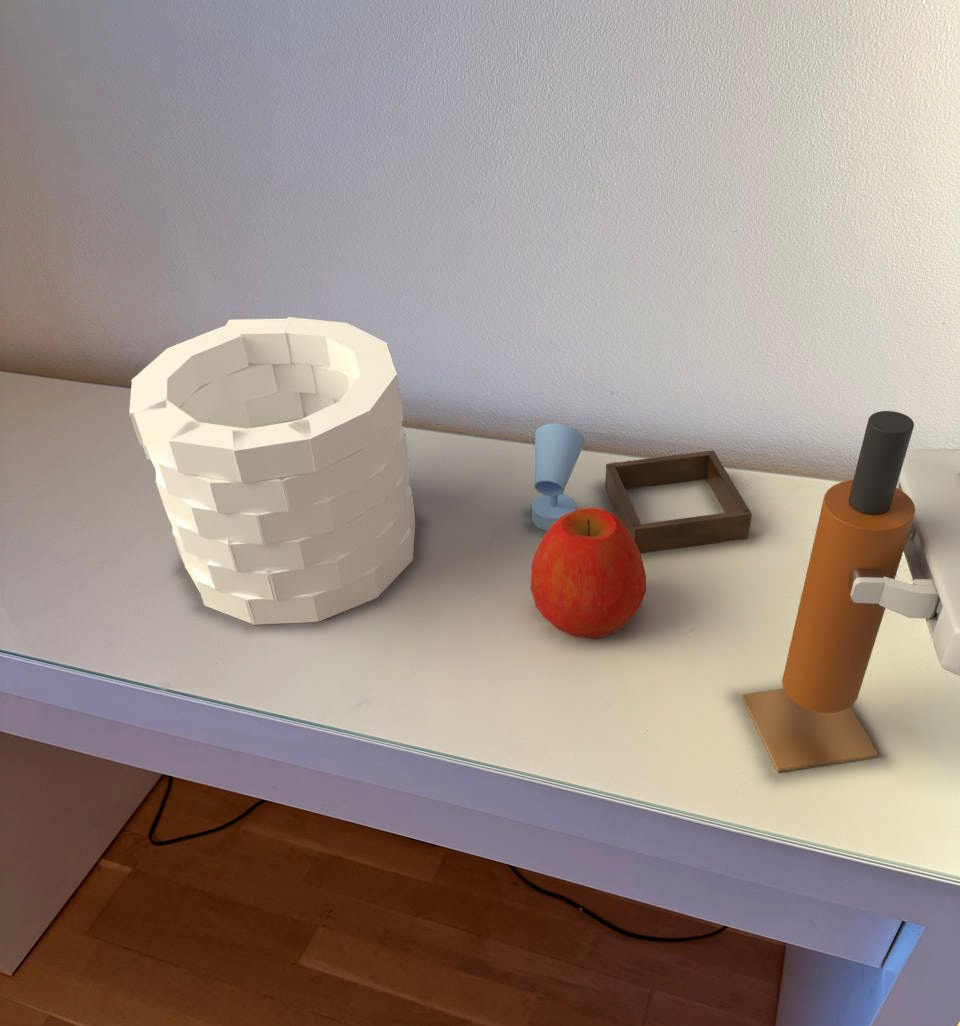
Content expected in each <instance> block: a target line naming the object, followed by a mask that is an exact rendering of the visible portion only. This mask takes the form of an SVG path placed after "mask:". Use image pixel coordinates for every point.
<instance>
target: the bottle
mask: <svg viewBox="0 0 960 1026" xmlns="http://www.w3.org/2000/svg"><path fill="white" fill-rule="evenodd" d="M914 427H915V422H914V420H913V419H912V418H911V417H910V416H909V415H906V414H904V413H902V412H899V411H893V410H882V411H881V410H880V411H876V412H874V413H872V414H870V416H869V417H868V420H867V423H866V428H865V431H864V435H863V439H862V444H861V446H860V451H859V455H858V459H857V463H856V466H855V467H856V468H855V471H854V475H853V479H847V480H844V481H840V482H838V483H836V484H834V485H832V486H831V487H830V488H828V489H827V490H826V492H825V493H824V496H823V499H822V504H821V508H820V513H819V517H818V522H817V526H816V530H815V535H814V538H813V542H812V543H813V544H812V548H811V552H810V556H809V561H808V565H807V570H806V573H805V579H804V581H803V587H802V591H801V595H800V600H799V605H798V609H797V613H796V618H795V621H794V626H793V631H792V635H791V640H790V643H789V648H788V652H787V657H786V661H785V666H784V670H783V675H782V680H781V682H782V689H783V688H784V690H785V692H786V694H787V695H788V696H789V698H790V699H791V700H792V701H794V702H795V703H796V704H798V705H799V706H801V707H803V708H805V709H808V710H811V711H814V712H820V713H836V712H840V711H843V710H845V709H848V708H849V707H851V708H852V706H853V705H854V704H855V703H856V701H857V700H858V697H859V695H860V691H861V688H862V686H863V683H864V682H863V681H864V679H865V675H866V673H867V669H868V666H869V664H870V663H869V662H870V659H871V656H872V653H873V650H874V646H875V643H876V641H877V637H878V634H879V631H880V628H881V624H882V621H883V617H884V615H885V611H886V608H885V607H883V606H880V605H879V604H869V603H855V602H853V601H852V599H851V596H850V590H849V585H848V583H849V580H850V575H851V572H852V571H853V570H854V569H857V568H864V569H866V570H868V569H873V568H876V569H881V571H882V574H883V577H884V576H885V577H888V578H891V579H895V580H896V576H897V573H898V570H899V567H900V563H901V560H902V557H903V554H904V547H905V544H906V541H907V538H908V535H909V531H910V528H911V525H912V522H913V518H914V515H915V505H914V503H913V501H912V500H911V498H910V497H909V496H908V495H907V494H906V493H904V492H903V491H901V490H900V489H898V488H896V487H897V483H898V480H899V476H900V473H901V469H902V466H903V462H904V459H905V456H906V452H908V448H909V445H910V442H911V438H912V436H913V435H912V434H913V431H914Z"/></svg>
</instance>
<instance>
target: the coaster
mask: <svg viewBox="0 0 960 1026" xmlns="http://www.w3.org/2000/svg"><path fill="white" fill-rule="evenodd" d="M741 699H742V701H743V703H744V705H745V707H746V710H747V711H748V714H749V716H750V718H751V720H752V722H753V725H754V727H755V728H756V730H757V733H758V735H759V737H760V739H761V741H762V743H763V746H764V747H765V749H766V751H767V753H768V756H769V758H770V759H771V762H772V764H773V766H774V768H775V770H776V772H777V773H782V772H788V771H789V772H790V771H795V770H801V769H808V768H814V767H815V768H816V767H821V766H828V765H835V764H842V763H848V762H853V761H861V760H866V759H873V758H878V755H879V753H878V751H877V750H876V748H875V746H874V744H873V743H872V741H871V739H870V737H869V735H868V734H867V733H866V731H865V729H864V727H863V726H862V723H861V722H860V720H859V719H858V717H857V715H856V713H855V711H854V710H853V709H852V706H851V707H849V708H848V709H845V710H843V711H840V712H836V713H820V712H814V711H811V710H808V709H805V708H803V707H801V706H799V705H798V704H796V703H795V702H794V701H792V700H791V699H790V698H789V696H788V695H787V694H786V692H785V690H784V688H783V687H782V688H778V689H770V690H763V691H757V692H750V693H743V694H742V695H741Z"/></svg>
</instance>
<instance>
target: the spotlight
mask: <svg viewBox="0 0 960 1026" xmlns="http://www.w3.org/2000/svg"><path fill="white" fill-rule="evenodd" d="M584 445H585V437H584V435H583V434H582V432H580V431H579V430H577V429H576V428H574V427H572V426H571V425H566V424H563V423H547V424H543V425H541V426H539V427H538V428H537V429H536V431H535V432H534V489H535V491H537V492H538V493H539V494H541V495H539V496H537V497H536V498H534V500H533V501H532V503H531V521H532V523H533V525H534V526H535V527H537V528H538V529H539V530H542V531H546V532H547V531H548V530H549V528H550V527H551V526H552V525H553V524H554V523H555V522H556V521H557V520H558V519H559V518H560V517H561V516H564V515H566V514H568V513H570V512H573V511H575V510H577V503H576V501H575V499H574V498H573V497H571V496H570V495H568V494H566V493H564V492H565V490H566V487H567V485H568V482H569V480H570V478H571V475H572V473H573V472H574V468H575V467H576V464H577V462H578V459H579V456H580V454H581V452H582V449H583V447H584Z"/></svg>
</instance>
